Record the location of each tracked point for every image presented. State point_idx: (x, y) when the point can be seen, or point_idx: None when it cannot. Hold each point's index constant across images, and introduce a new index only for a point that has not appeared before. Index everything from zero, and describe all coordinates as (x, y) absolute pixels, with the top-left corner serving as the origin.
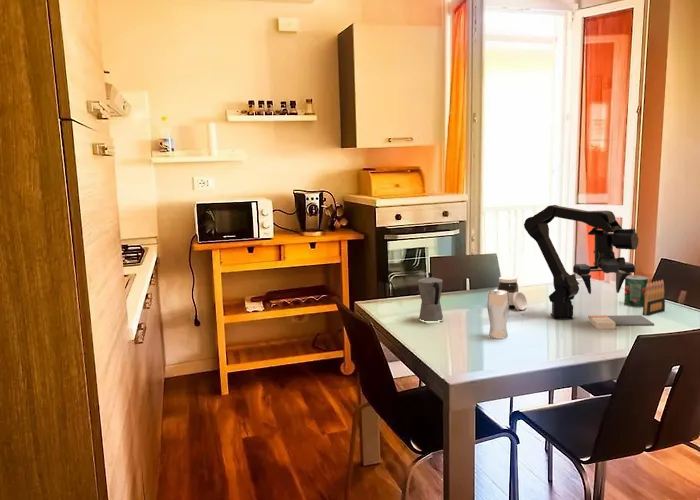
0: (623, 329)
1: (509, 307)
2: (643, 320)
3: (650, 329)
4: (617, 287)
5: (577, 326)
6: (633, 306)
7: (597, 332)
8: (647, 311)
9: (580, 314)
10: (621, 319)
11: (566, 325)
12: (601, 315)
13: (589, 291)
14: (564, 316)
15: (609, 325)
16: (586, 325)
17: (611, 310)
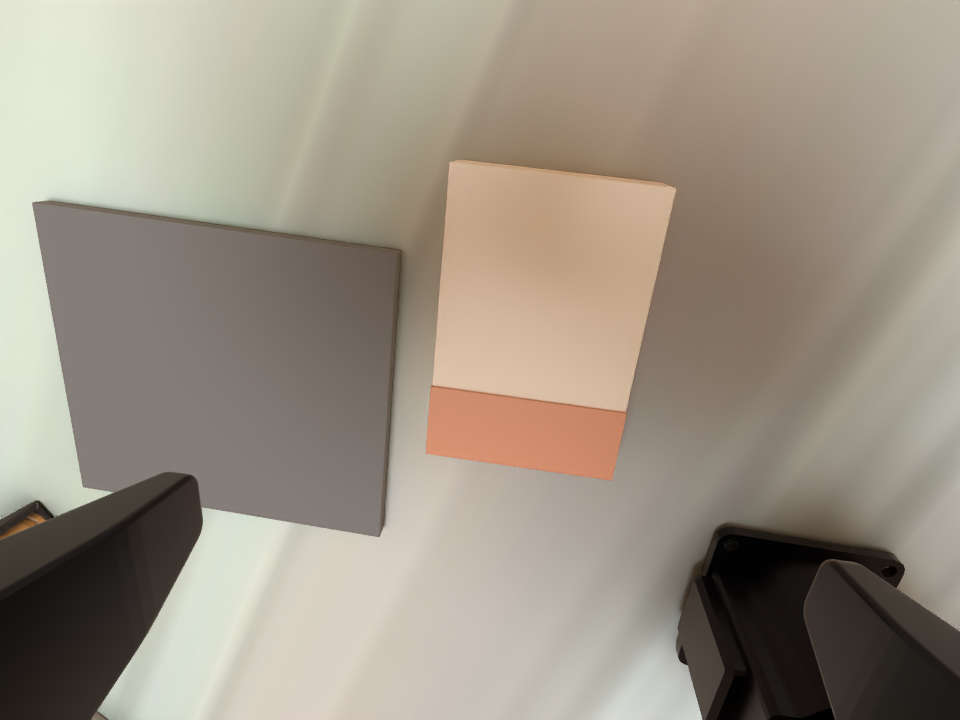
0: (392, 103)
1: None
2: (104, 334)
3: (115, 62)
4: (108, 585)
5: (825, 295)
6: None
7: (749, 10)
8: (5, 526)
9: (561, 638)
10: (292, 401)
11: (919, 350)
12: (475, 456)
13: (911, 603)
14: (807, 563)
15: (522, 169)
16: (705, 315)
17: (267, 674)
